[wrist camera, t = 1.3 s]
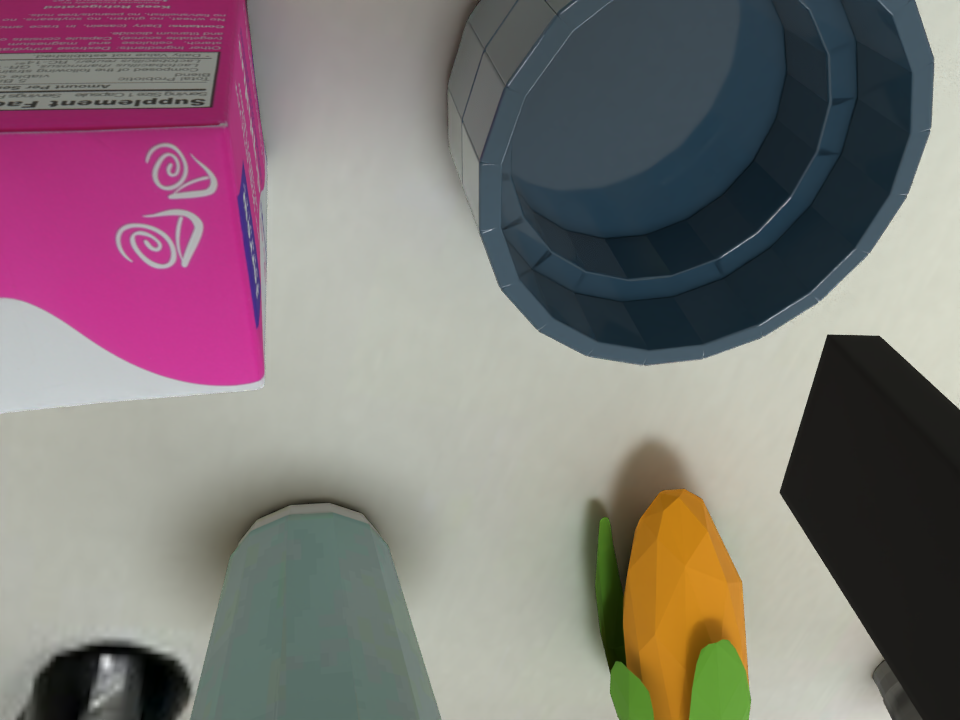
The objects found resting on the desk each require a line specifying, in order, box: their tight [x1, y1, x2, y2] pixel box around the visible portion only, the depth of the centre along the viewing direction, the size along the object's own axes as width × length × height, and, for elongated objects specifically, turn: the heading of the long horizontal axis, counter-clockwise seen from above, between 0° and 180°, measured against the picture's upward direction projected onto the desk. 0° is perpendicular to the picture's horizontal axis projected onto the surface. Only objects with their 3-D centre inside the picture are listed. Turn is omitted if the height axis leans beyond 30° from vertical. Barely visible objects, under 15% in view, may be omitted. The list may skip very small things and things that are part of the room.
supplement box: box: [0, 0, 267, 414], centre depth 19 cm, size 6×6×12 cm
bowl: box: [447, 0, 934, 366], centre depth 24 cm, size 12×12×6 cm
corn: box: [595, 489, 751, 720], centre depth 39 cm, size 7×8×20 cm
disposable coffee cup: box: [190, 503, 441, 720], centre depth 31 cm, size 11×11×15 cm
